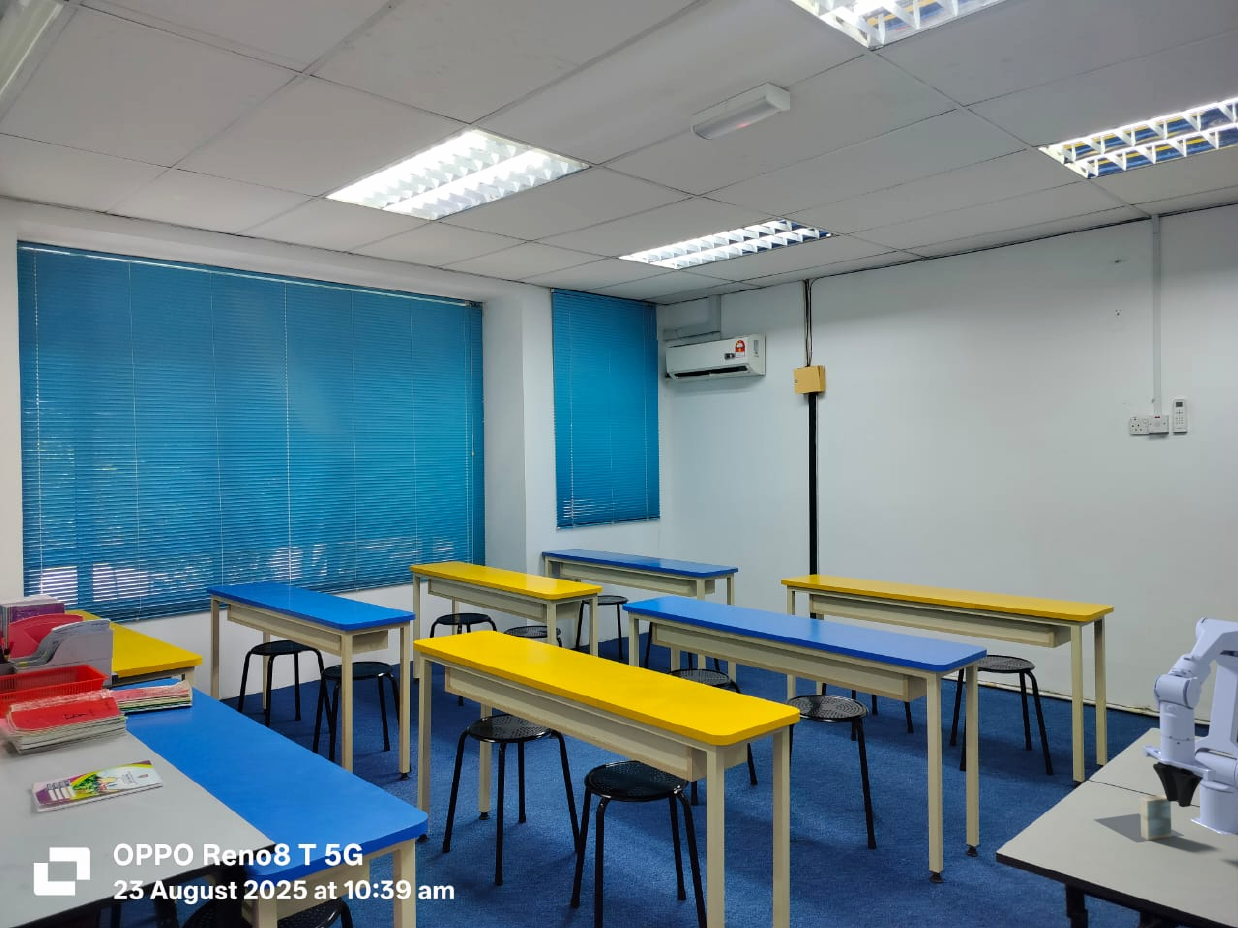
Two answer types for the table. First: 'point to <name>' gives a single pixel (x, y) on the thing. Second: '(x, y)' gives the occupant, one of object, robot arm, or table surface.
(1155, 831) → the birch framed mirror
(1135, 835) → the rubber mat
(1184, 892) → the table surface
